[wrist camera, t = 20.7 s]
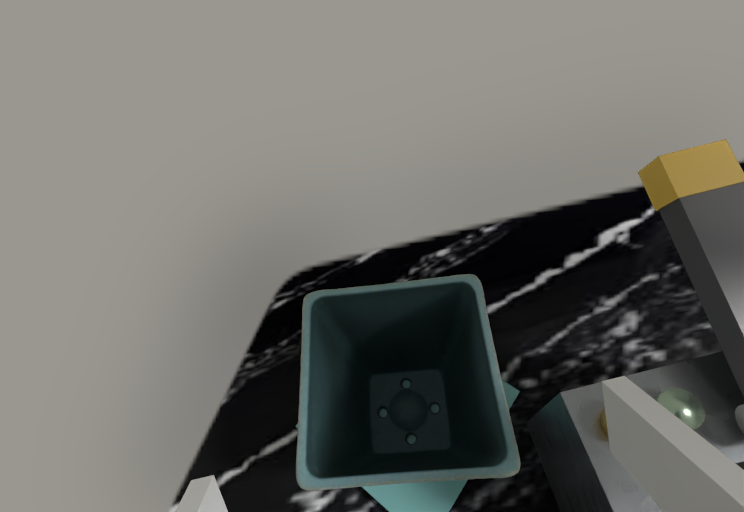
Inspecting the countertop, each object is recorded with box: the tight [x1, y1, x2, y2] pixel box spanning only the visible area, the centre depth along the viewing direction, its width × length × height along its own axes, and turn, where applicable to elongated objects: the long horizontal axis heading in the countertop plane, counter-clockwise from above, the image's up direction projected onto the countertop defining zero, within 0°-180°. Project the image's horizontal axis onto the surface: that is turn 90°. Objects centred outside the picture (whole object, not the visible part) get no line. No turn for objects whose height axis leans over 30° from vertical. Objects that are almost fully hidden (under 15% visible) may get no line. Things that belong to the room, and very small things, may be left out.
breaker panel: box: [526, 352, 744, 512], centre depth 20 cm, size 6×11×9 cm, turn 102°
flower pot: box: [296, 274, 520, 491], centre depth 22 cm, size 9×9×9 cm
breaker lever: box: [638, 139, 744, 434], centre depth 17 cm, size 2×4×12 cm
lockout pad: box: [295, 379, 520, 512], centre depth 26 cm, size 10×10×1 cm
